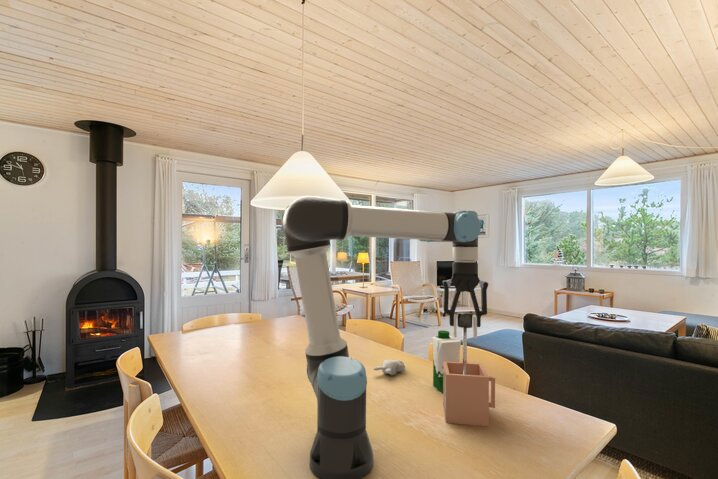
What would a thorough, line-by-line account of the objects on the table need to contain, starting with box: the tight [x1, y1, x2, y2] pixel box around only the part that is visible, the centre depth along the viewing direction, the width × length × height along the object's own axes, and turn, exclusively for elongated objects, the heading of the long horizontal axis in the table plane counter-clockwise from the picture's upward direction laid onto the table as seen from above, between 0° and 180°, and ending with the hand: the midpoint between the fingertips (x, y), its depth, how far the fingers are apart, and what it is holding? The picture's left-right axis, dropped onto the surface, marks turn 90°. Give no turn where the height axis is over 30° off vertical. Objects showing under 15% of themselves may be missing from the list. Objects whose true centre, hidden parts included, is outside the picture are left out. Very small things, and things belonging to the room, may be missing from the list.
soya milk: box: [431, 330, 463, 394], centre depth 130 cm, size 9×9×20 cm
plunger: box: [456, 311, 473, 375], centre depth 110 cm, size 9×9×22 cm
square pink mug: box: [442, 361, 496, 427], centre depth 110 cm, size 12×15×14 cm
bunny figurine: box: [373, 359, 406, 377], centre depth 145 cm, size 10×5×15 cm
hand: (464, 336), depth 110 cm, fingers open, 5 cm apart
